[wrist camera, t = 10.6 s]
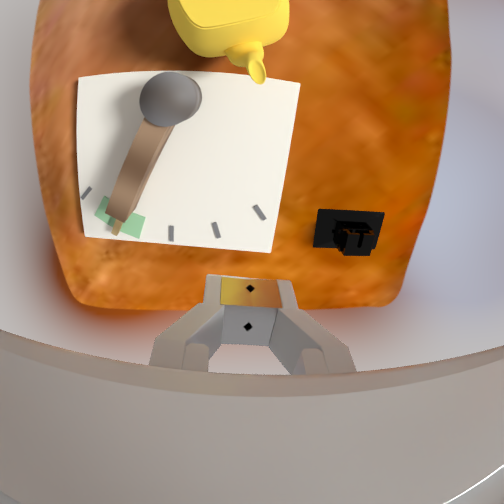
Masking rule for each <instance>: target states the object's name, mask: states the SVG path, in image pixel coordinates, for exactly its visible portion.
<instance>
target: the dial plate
mask: <svg viewBox="0 0 504 504" xmlns="http://www.w3.org/2000/svg"><path fill="white" fill-rule="evenodd" d="M163 72H176V73H180V74H182V75H185V76H188V77H190V78H192V79H193V80H195V81H196V82H197V84H198V85H199V87H200V89H201V92H202V102H201V105H200V107H199V109H198V111H197V112H196V113H195V114H194V115H193V116H192V117H191V118H189V119H187V120H185V121H183V122H181V123H179V124H177V125H175V127H174V129H173V131H172V132H171V134H170V136H169V138H168V140H167V142H166V144H165V146H164V148H163V150H162V152H161V154H160V156H159V158H158V160H157V162H156V164H155V166H154V168H153V171H152V173H151V175H150V177H149V179H148V181H147V184H146V186H145V188H144V190H143V193H142V195H141V197H140V200H139V202H138V204H137V207H136V209H135V210H134V211H133V212H132V214H131V215H130V216H129V218H128V219H127V220H126V222H125V223H123V224H122V227H121V230H120V232H119V234H118V235H117V236H115V235H113V234H111V232H112V229H113V226H114V223H115V220H116V219H115V218H113V217H111V216H109V215H107V214H105V211H106V208H107V205H108V202H109V200H110V197H111V194H112V191H113V189H114V186H115V183H116V181H117V178H118V176H119V173H120V171H121V168H122V166H123V163H124V161H125V158H126V156H127V154H128V151H129V149H130V147H131V145H132V142H133V140H134V138H135V136H136V134H137V132H138V129H139V127H140V125H141V123H142V121H143V119H144V115H143V114H142V112H141V109H140V104H139V98H140V94H141V91H142V89H143V87H144V85H145V84H146V83H147V81H148V80H149V79H151V78H152V77H154V76H155V75H157V74H160V73H163ZM299 89H300V83H295V82H290V81H284V80H278V79H272V78H266V80H265V82H264V83H263V84H261V85H259V84H256V83H255V82H254V81H253V80H252V79H251V77H250V75H241V74H231V73H218V72H202V71H141V72H125V73H113V74H103V75H95V76H87V77H80V78H79V83H78V98H77V163H78V180H79V192H80V202H81V211H82V219H83V226H84V233H85V237H94V238H106V239H117V240H129V241H140V242H152V243H163V244H175V245H186V246H198V247H209V248H220V249H232V250H243V251H254V252H266V253H271V248H272V243H273V238H274V232H275V227H276V222H277V216H278V211H279V205H280V200H281V194H282V189H283V183H284V178H285V172H286V166H287V161H288V155H289V149H290V143H291V137H292V132H293V126H294V120H295V114H296V108H297V101H298V95H299Z"/></svg>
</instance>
